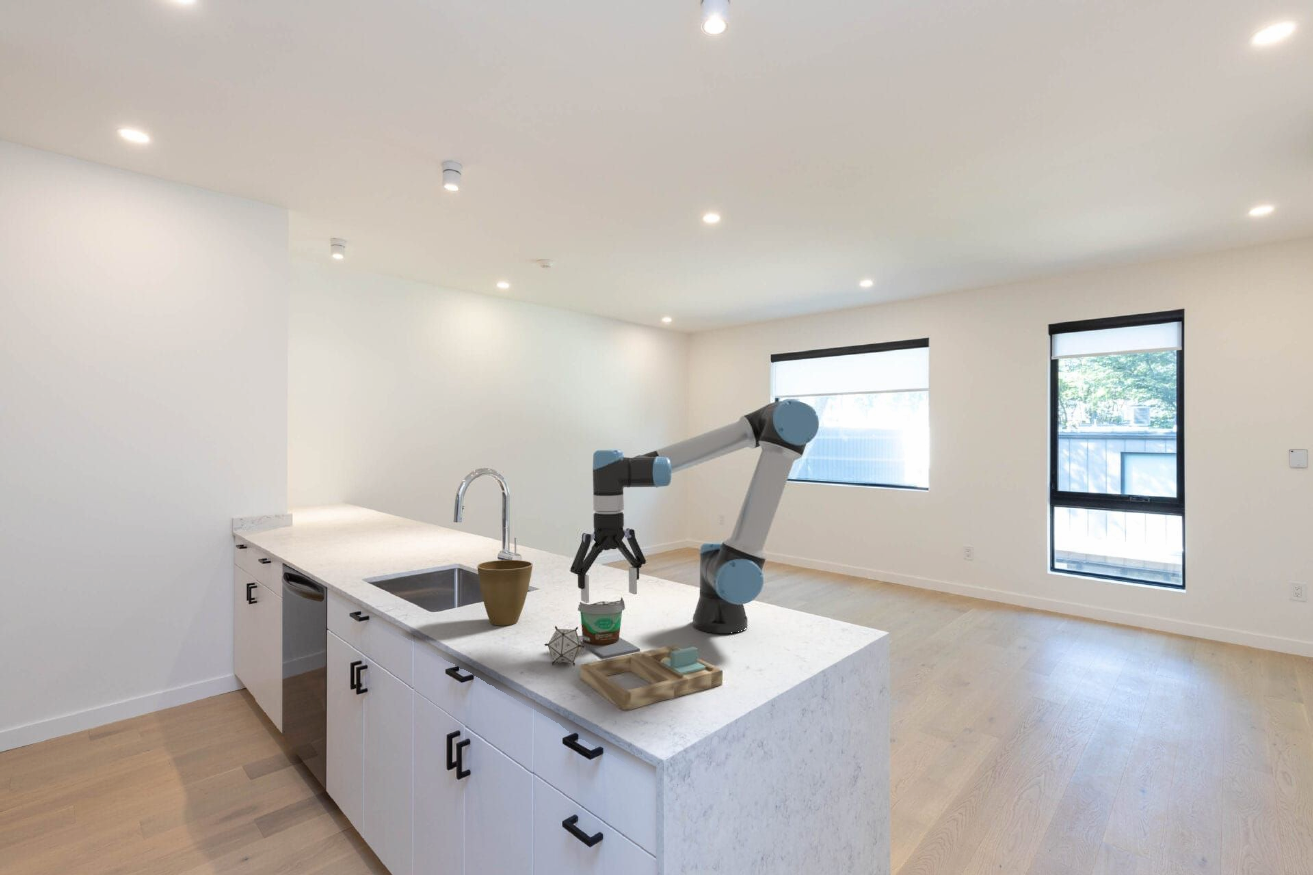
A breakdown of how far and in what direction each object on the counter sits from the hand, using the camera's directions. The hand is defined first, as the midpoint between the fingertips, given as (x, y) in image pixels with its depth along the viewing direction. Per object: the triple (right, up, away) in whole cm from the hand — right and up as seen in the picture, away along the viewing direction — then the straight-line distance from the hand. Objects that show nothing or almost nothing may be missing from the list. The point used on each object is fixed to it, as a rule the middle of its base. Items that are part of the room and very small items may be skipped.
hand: (609, 597), depth 150 cm
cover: (+17, -9, -22) cm, 30 cm away
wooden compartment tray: (+10, -12, -23) cm, 28 cm away
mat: (-1, -12, 0) cm, 12 cm away
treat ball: (+14, -12, -17) cm, 25 cm away
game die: (-9, -12, -13) cm, 20 cm away
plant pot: (-31, -11, +17) cm, 37 cm away
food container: (-1, -11, 0) cm, 11 cm away
